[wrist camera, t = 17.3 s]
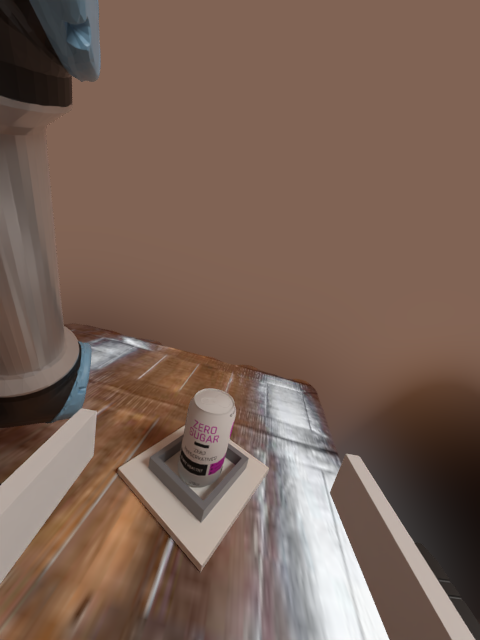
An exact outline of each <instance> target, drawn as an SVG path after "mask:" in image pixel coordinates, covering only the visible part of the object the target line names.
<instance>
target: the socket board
mask: <svg viewBox="0 0 480 640" xmlns="http://www.w3.org/2000/svg"><path fill="white" fill-rule="evenodd" d="M184 429H185V426H183V427H182V428H180V429H178V430H177V431H175V432H174V433H172V434H171V435H169V436H167V437H166V438H164V439H163V440H161V441H160V442H158V443H157V444H155V445H153V446H152V447H150V448H149V449H147V450H146V451H144V452H142V453H141V454H139V455H138V456H136V457H135V458H133V459H132V460H130V461H128V462H127V463H125V464H124V465H122V466H121V467H119V468H118V475H119V476H120V477H121V478H122V479H123V481H124V482H125V483H126V484H127V485H128V486H129V488H130V489H131V490H132V491H133V492H134V494H135V495H136V496H137V497H138V498H139V500H140V501H141V502H142V503H143V504H144V506H145V507H146V508H147V509H148V510H149V511H150V513H151V514H152V515H153V516H154V517H155V519H156V520H157V521H158V522H159V523H160V525H161V526H162V527H163V528H164V529H165V531H166V532H167V533H168V534H169V535H170V536H171V538H172V539H173V540H174V541H175V542H176V544H177V545H178V546H179V547H180V548H181V550H182V551H183V552H184V553H185V554H186V556H187V557H188V558H189V559H190V560H191V561H192V563H193V564H194V565H195V566H196V567H197V569H198V570H199V571H200V572H201V570H202V569H203V567H204V566H205V565H206V563H207V562H208V560H209V559H210V557H211V556H212V554H213V553H214V551H215V550H216V548H217V547H218V545H219V544H220V542H221V541H222V539H223V538H224V537H225V535H226V534H227V532H228V531H229V529H230V528H231V526H232V525H233V523H234V522H235V520H236V519H237V517H238V516H239V514H240V513H241V511H242V510H243V509H244V507H245V506H246V504H247V503H248V501H249V500H250V498H251V497H252V495H253V494H254V492H255V491H256V489H257V488H258V486H259V485H260V483H261V482H262V480H263V479H264V478H265V476H266V475H267V473H268V470H269V468H268V467H267V466H265V465H264V464H263V463H261V462H260V461H259V460H257V459H256V458H254V457H253V456H252V455H250V454H249V453H248V452H246V451H245V450H243V449H242V448H241V447H239V446H238V445H237V444H235V443H234V442H233V441H231V440H229V444H228V447H227V451H226V455H225V459H224V463H223V467H222V471H221V474H220V476H219V478H218V479H217V480H216V481H215V482H214V483H212V484H210V485H207V486H205V487H196V486H193V485H190V484H188V483H187V482H185V481H184V480H183V479H182V478H181V476H180V474H179V472H178V461H179V455H180V450H181V445H182V440H183V434H184Z"/></svg>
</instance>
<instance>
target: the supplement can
mask: <svg viewBox="0 0 480 640" xmlns="http://www.w3.org/2000/svg"><path fill="white" fill-rule="evenodd" d="M235 416H236V408H235V405H234V400H233V398H232V397H231V396H230V395H229V394H228V393H226V392H224V391H222V390H218V389H212V388H209V389H203V390H200V391H199V392H197V393H196V394H195V397H194V398H193V399H192V400H191V401H190V404H189V408H188V413H187V419H186V424H185V429H184V434H183V440H182V445H181V450H180V455H179V461H178V472H179V474H180V476H181V478H182V479H183V480H184V481H185V482H187V483H188V484H190V485H193V486H196V487H205V486H207V485H210V484H212V483H214V482H215V481H216V480H217V479H218V478H219V476H220V474H221V471H222V467H223V463H224V459H225V455H226V451H227V447H228V444H229V440H230V436H231V432H232V428H233V424H234V420H235Z"/></svg>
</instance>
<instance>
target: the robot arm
mask: <svg viewBox="0 0 480 640" xmlns="http://www.w3.org/2000/svg"><path fill="white" fill-rule="evenodd" d="M99 74H100V43H99V7H98V0H0V428H7V427H14V426H22V425H30V424H37V423H52V422H55V421H57V420H63V419H69V418H70V419H69V420H68V421H67V422H66V423H65V424H64V425H63V426H62V427H61V428H60V429H59V430H58V431H57V432H56V433H55V434H54V435H53V436H52V437H50V438H49V439H48V440H47V441H46V442H45V443H44V444H43V445H42V446H41V447H40V448H39V449H38V450H37V451H36V452H35V453H34V454H33V455H32V456H31V457H30V458H29V459H28V460H26V461H25V462H24V463H23V464H22V465H21V466H20V467H19V468H18V469H17V470H16V471H15V472H14V473H13V474H12V475H11V476H10V477H9V478H8V479H7V480H6V481H5V482H4V483H2V484H0V583H1V582H2V581H3V579H4V578H5V577H6V575H7V574H8V572H9V571H10V570H11V568H12V567H13V566H14V564H15V563H16V561H17V560H18V559H19V557H20V556H21V555H22V553H23V552H24V550H25V549H26V548H27V546H28V545H29V544H30V542H31V541H32V539H33V538H34V537H35V535H36V534H37V532H38V531H39V530H40V528H41V527H42V526H43V524H44V523H45V521H46V520H47V519H48V517H49V516H50V515H51V513H52V512H53V510H54V509H55V508H56V506H57V505H58V504H59V502H60V501H61V499H62V498H63V497H64V495H65V494H66V493H67V491H68V490H69V488H70V487H71V486H72V484H73V483H74V482H75V480H76V479H77V477H78V476H79V475H80V473H81V472H82V471H83V469H84V468H85V466H86V465H87V464H88V462H89V461H90V460H91V458H92V457H93V455H94V442H95V428H96V414H97V411H93V410H88V409H82V406H83V403H84V399H85V394H86V387H87V383H88V379H89V372H90V365H91V346H90V345H89V344H88V343H82V342H79V341H78V340H77V338H76V337H75V335H74V334H73V333H72V332H71V331H70V330H69V329H68V328H66V327H65V326H63V316H62V305H61V294H60V283H59V272H58V262H57V252H56V251H57V250H56V239H55V229H54V217H53V207H52V197H51V186H50V175H49V163H48V152H47V141H46V128H47V125H48V124H50V123H52V122H53V121H55V120H57V119H58V118H60V117H61V116H63V115H64V114H66V113H68V112H69V111H71V110H72V78H71V77H72V76H73V77H75V78H77V79H78V80H80V81H81V82H83V81H91V82H94V81H96V80H97V79H98V77H99ZM330 494H331V497H332V499H333V502H334V504H335V506H336V509H337V511H338V514H339V516H340V519H341V521H342V524H343V526H344V529H345V531H346V534H347V536H348V538H349V541H350V543H351V546H352V548H353V551H354V553H355V556H356V558H357V561H358V563H359V566H360V568H361V570H362V573H363V575H364V578H365V580H366V583H367V585H368V588H369V590H370V593H371V595H372V598H373V600H374V602H375V605H376V607H377V610H378V612H379V615H380V617H381V620H382V622H383V625H384V627H385V630H386V632H387V635H388V637H389V639H390V640H480V624H479V623H478V621H477V620H476V618H475V617H474V616H473V614H472V612H471V611H470V609H469V608H468V606H467V605H466V604H465V602H464V601H463V600H462V599H461V596H460V595H459V593H458V592H457V590H456V588H455V587H454V585H453V584H451V583H450V580H449V578H448V577H447V575H446V574H445V572H444V571H443V569H442V568H441V566H440V565H439V563H438V562H437V560H436V559H435V558H434V557H433V556H432V555H431V554H430V553H429V552H428V550H427V549H426V548H425V547H424V546H423V545H422V544H420V543H414V542H413V540H412V539H411V537H410V536H409V534H408V533H407V531H406V529H405V528H404V526H403V524H402V523H401V521H400V520H399V518H398V517H397V515H396V513H395V512H394V510H393V509H392V507H391V505H390V504H389V502H388V501H387V499H386V498H385V496H384V495H383V493H382V491H381V490H380V488H379V486H378V485H377V483H376V482H375V480H374V479H373V477H372V475H371V474H370V472H369V471H368V469H367V468H366V466H365V464H364V463H363V461H362V460H361V458H360V456H356V455H350V454H346V455H345V457H344V460H343V462H342V465H341V467H340V469H339V472H338V474H337V477H336V479H335V482H334V484H333V486H332V489H331V491H330Z"/></svg>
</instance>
